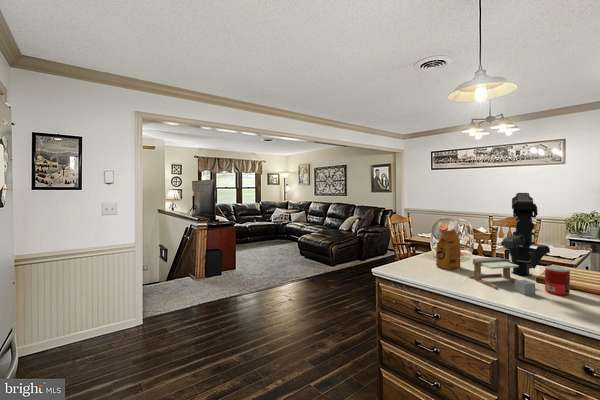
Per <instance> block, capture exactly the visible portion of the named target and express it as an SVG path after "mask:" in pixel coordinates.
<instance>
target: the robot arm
mask: <svg viewBox="0 0 600 400" xmlns="http://www.w3.org/2000/svg"><path fill="white" fill-rule="evenodd" d="M511 209H512V213H513V215H512V217H513V218H516V219H515V231H513V232H512V235H509V236H507V237H505V238H503V239H502V240H501V241H500V242H501V243H500V244H501V246H502V247H504V248H505V249H506V250H507V251H508V252H509V255H510V257H511V263H513V264H515V265H519V267H514V268H512V271H510V274H514V275H517V276H520V277H527V276H533V274H532V273H530V265H531V269H535V268H536V267H537V266H538V264H539V262H540V261H541V260H542V259H543V257H544V256H546V255H547V254H550V251H551V248H550V247H549V246H548V245H544V244H536V241H533V236H534V235H536V232H533V230H534V228H535V225H534V223H533V219H532V218H535V219H536V218H537V216H538V214H539V213H538V206H537V205H536V203H534V198H533V197H531V196H530V193H529V192H517V193H515V196H514V197H512V198H511Z"/></svg>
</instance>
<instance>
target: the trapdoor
mask: <svg viewBox="0 0 600 400" xmlns="http://www.w3.org/2000/svg"><path fill="white" fill-rule="evenodd" d="M505 259H506V258H503V257H497V256H496V257H495V256H494V257H480V258H479V257H477V258H472V265H474V261H479V262H481V267H484V268H488V269H491V270H497V269H503V268H510V269H511V268H512V269H513V268H514V267H519V265H515V264H514V263H513V262H510V263H509V262H506V261H505Z"/></svg>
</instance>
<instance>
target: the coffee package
mask: <svg viewBox="0 0 600 400" xmlns="http://www.w3.org/2000/svg"><path fill="white" fill-rule="evenodd" d="M440 233H441V236H440V239H439V240H438V241H437V243H436V247H435V253H436V254H435V255H436V256H435V257H436V258H435V266H436V267H437V266H438V267H437V268H440V267H441V268H440V269H443V270H446V269H448V270H447V271H449V270H451V269H454V270H456V269H458V268H461V242H460V241H461V240H460V237H459V236H458V233H457V232H456V229H455V228H452V229H451V230H446V229H445V230H440Z"/></svg>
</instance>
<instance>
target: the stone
mask: <svg viewBox="0 0 600 400" xmlns="http://www.w3.org/2000/svg"><path fill="white" fill-rule="evenodd" d="M514 292H515V293H517V294H520V295H522V296H534V295H536V283H535V282H532V281H530V280H526V279H517V280H515V282H514Z"/></svg>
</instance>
